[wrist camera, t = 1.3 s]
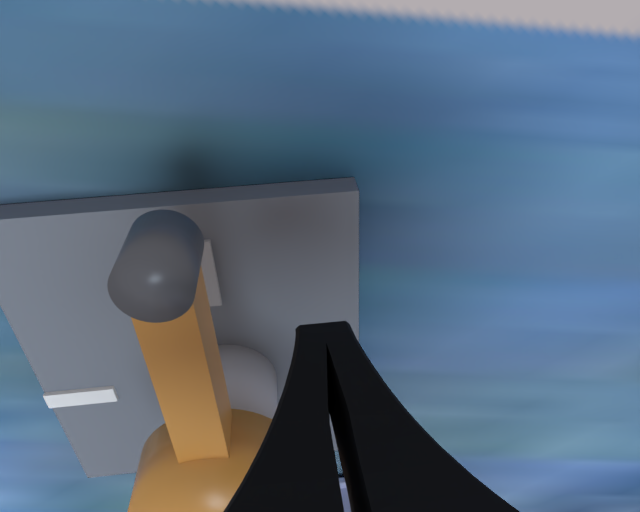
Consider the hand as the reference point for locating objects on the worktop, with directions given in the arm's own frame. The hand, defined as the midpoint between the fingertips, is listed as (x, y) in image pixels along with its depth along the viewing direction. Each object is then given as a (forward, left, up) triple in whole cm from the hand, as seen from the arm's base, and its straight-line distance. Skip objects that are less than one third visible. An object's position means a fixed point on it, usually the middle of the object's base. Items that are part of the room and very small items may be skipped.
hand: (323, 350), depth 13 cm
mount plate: (-6, +5, -8) cm, 11 cm away
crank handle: (-4, +4, -2) cm, 6 cm away
